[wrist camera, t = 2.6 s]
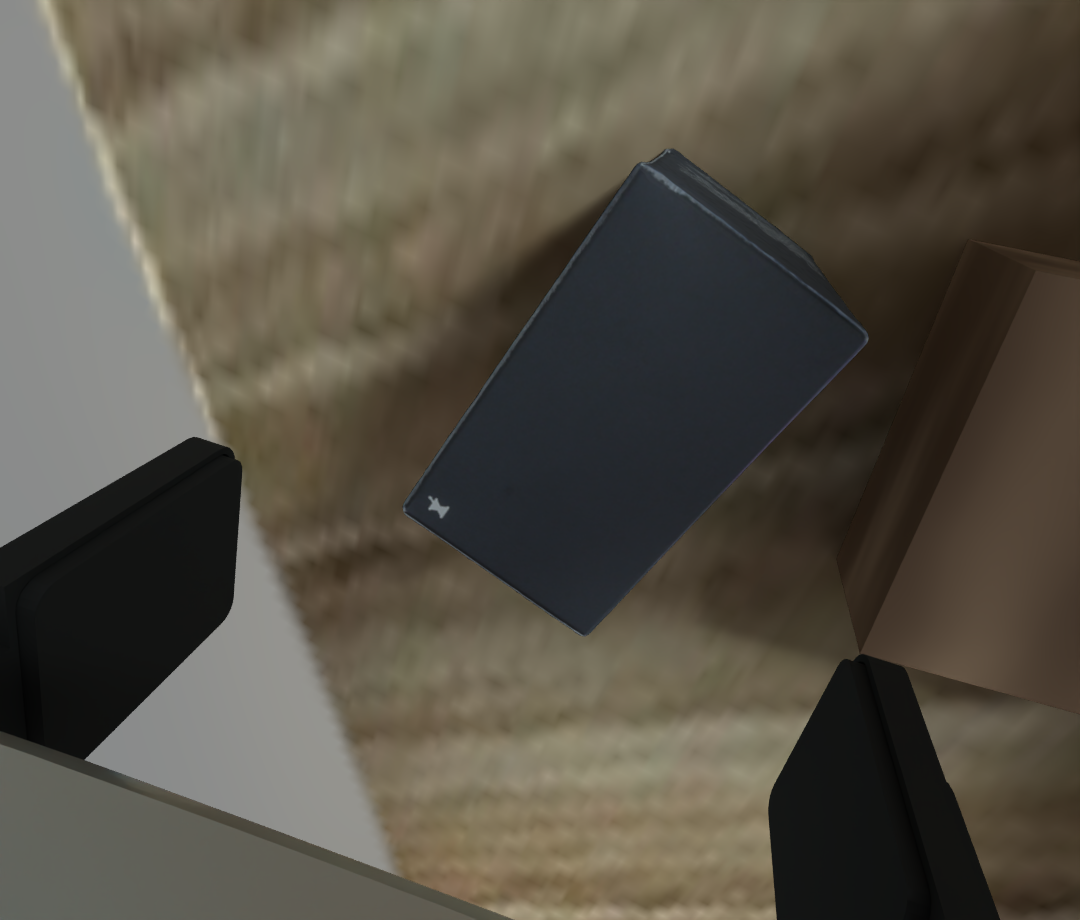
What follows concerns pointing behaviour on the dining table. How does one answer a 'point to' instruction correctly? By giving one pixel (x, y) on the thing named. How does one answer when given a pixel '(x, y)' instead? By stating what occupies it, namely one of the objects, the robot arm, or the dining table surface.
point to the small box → (635, 393)
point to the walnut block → (981, 490)
